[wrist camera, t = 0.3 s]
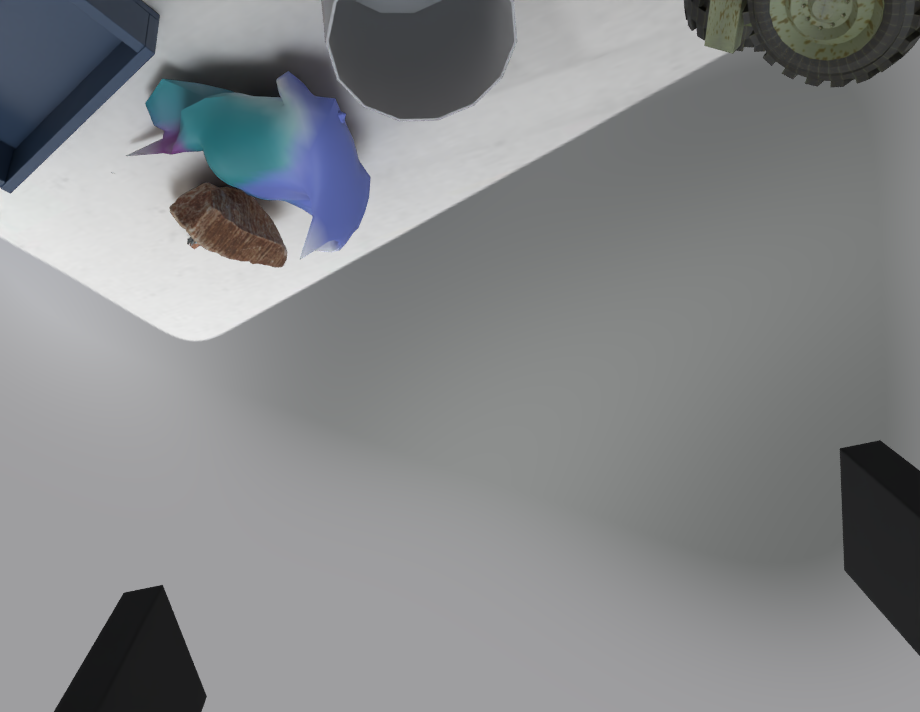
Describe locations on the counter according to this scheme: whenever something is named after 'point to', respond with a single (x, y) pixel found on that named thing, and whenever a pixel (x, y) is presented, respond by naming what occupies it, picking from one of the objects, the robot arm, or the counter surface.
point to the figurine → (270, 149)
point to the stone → (230, 224)
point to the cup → (419, 52)
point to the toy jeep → (812, 34)
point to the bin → (62, 71)
